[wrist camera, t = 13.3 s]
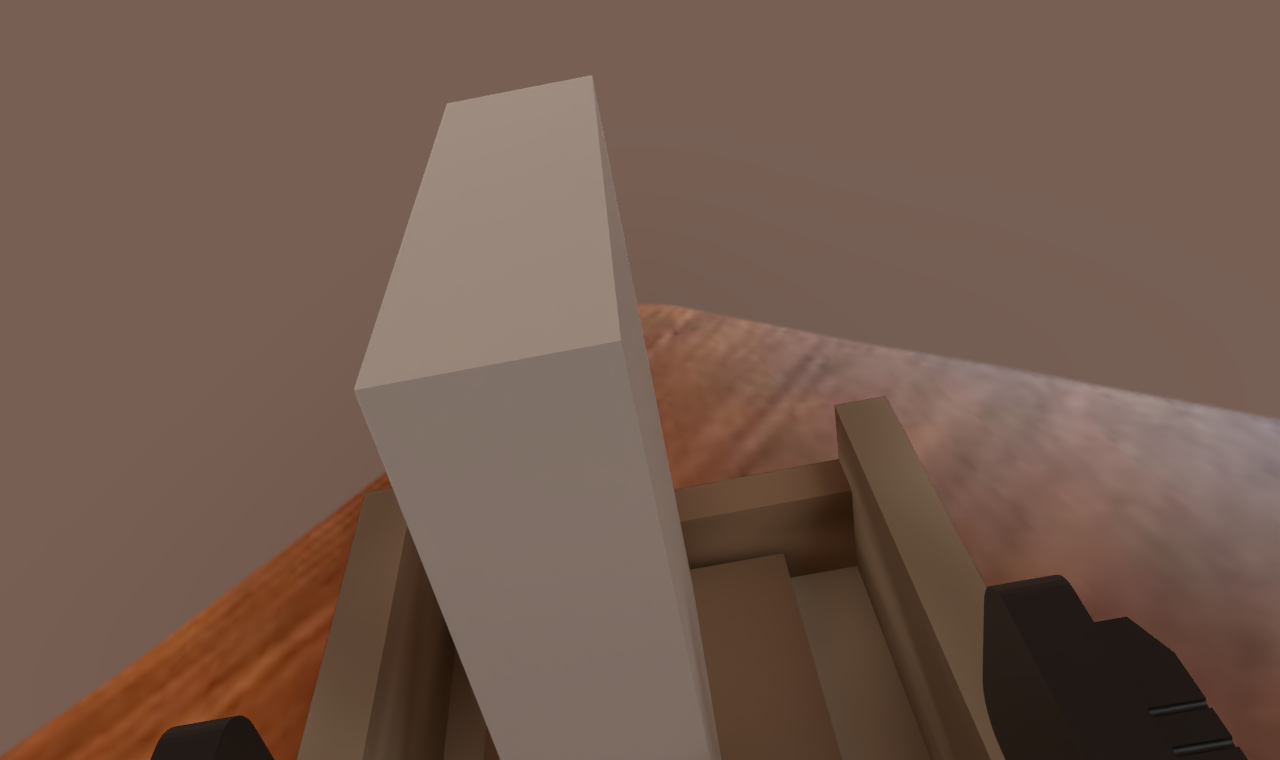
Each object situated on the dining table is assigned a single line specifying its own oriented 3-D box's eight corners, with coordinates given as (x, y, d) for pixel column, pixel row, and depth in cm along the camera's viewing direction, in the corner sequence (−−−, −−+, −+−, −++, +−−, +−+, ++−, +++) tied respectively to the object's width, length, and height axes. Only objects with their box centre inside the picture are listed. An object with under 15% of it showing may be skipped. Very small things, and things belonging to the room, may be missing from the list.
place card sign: (787, 583, 24) (719, 42, 17) (913, 1032, 15) (880, 321, 8) (505, 632, 24) (323, 119, 17) (477, 1103, 16) (95, 467, 9)
